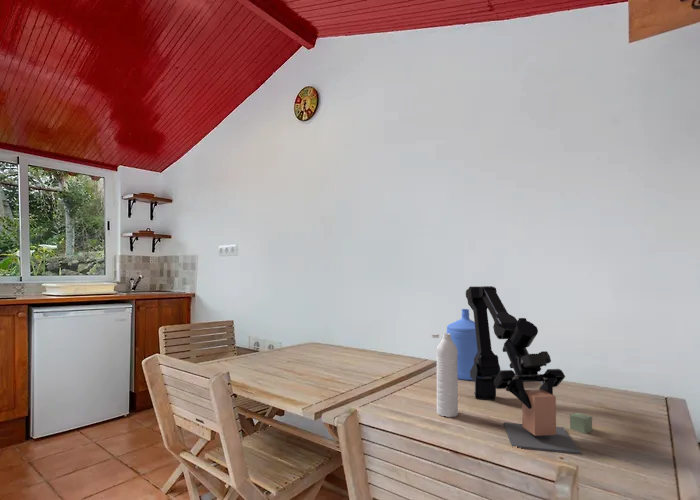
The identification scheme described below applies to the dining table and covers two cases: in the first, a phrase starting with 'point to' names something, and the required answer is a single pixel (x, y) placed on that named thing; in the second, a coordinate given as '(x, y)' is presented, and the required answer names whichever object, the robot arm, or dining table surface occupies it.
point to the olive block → (581, 422)
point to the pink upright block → (540, 413)
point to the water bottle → (447, 376)
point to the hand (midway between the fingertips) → (541, 407)
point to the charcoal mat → (540, 439)
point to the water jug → (464, 344)
